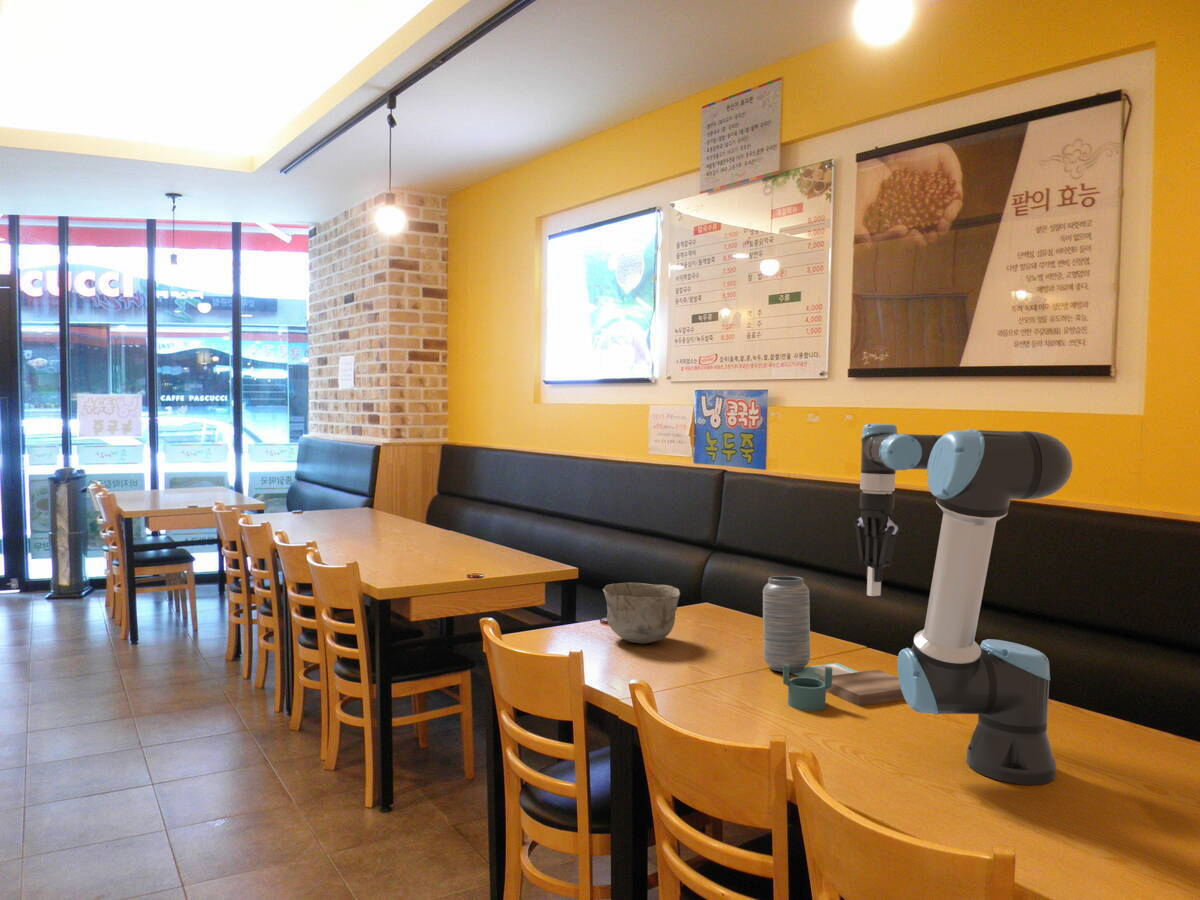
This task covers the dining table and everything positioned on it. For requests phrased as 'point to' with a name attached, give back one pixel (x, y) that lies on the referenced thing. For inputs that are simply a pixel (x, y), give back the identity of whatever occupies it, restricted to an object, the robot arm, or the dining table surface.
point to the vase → (786, 623)
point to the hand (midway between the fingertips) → (873, 595)
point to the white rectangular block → (835, 670)
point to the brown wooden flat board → (866, 687)
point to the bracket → (807, 690)
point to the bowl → (641, 610)
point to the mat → (810, 673)
